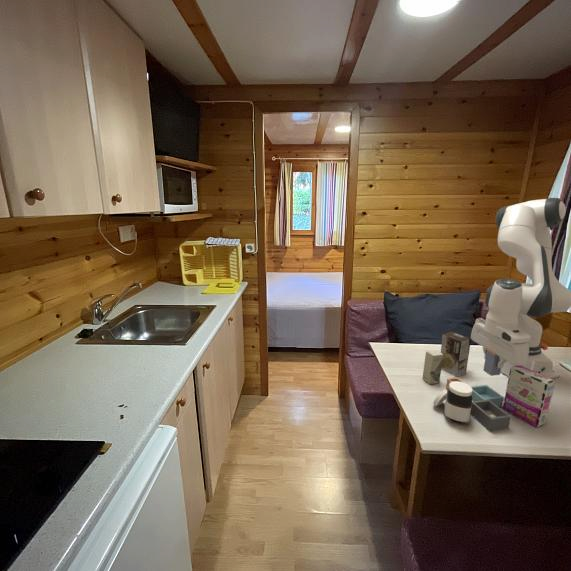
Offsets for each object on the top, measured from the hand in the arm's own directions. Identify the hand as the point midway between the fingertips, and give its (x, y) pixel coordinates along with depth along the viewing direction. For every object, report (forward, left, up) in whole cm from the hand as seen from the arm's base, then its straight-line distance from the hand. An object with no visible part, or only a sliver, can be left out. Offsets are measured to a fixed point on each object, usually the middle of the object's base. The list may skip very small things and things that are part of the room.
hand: (493, 363), depth 108 cm
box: (+11, -17, -17) cm, 26 cm away
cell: (0, 0, -4) cm, 4 cm away
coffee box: (-3, -23, -17) cm, 29 cm away
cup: (+7, -8, -16) cm, 19 cm away
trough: (-1, -2, -16) cm, 16 cm away
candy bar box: (-7, +8, -17) cm, 20 cm away
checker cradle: (+6, +8, -16) cm, 19 cm away
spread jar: (+16, +3, -17) cm, 23 cm away
